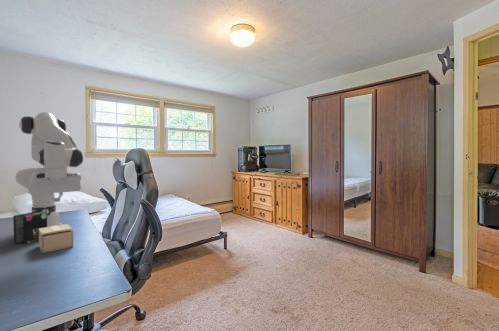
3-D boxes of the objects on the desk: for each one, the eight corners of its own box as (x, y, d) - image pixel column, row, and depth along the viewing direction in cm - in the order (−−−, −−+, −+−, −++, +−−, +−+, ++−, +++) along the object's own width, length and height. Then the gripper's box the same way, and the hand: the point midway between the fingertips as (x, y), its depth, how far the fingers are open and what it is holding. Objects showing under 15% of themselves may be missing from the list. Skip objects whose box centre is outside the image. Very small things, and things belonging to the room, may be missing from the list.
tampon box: (27, 244, 127) (26, 216, 126) (13, 243, 129) (12, 215, 128) (48, 237, 138) (47, 212, 137) (35, 236, 139) (34, 211, 139)
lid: (38, 230, 124) (38, 228, 124) (67, 225, 133) (67, 223, 133) (41, 235, 114) (41, 233, 114) (72, 229, 123) (72, 228, 123)
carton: (39, 246, 124) (38, 230, 124) (67, 240, 133) (67, 226, 132) (42, 253, 114) (41, 236, 114) (73, 246, 123) (72, 231, 123)
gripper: (79, 172, 129) (79, 198, 130) (27, 174, 115) (28, 203, 115) (82, 173, 125) (82, 200, 125) (28, 175, 110) (29, 205, 111)
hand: (56, 201), depth 120 cm, fingers closed
